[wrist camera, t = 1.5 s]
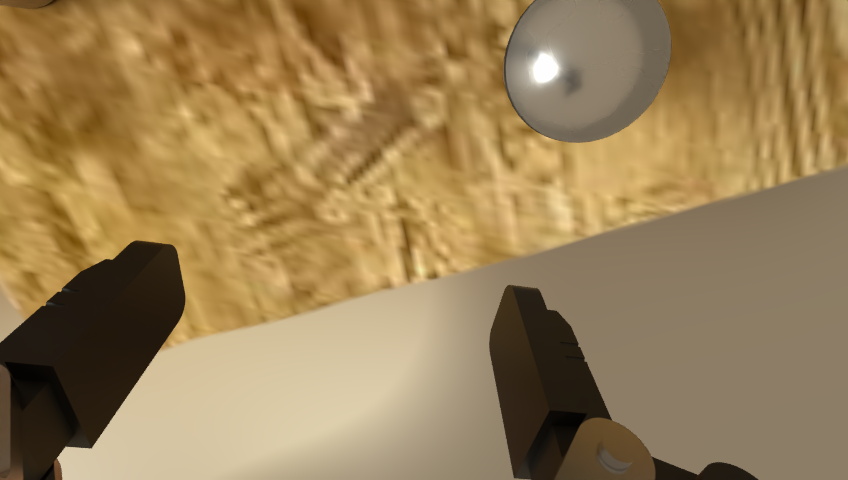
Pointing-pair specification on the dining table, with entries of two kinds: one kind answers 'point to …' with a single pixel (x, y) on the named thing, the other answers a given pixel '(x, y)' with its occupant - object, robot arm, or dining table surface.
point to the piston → (586, 65)
